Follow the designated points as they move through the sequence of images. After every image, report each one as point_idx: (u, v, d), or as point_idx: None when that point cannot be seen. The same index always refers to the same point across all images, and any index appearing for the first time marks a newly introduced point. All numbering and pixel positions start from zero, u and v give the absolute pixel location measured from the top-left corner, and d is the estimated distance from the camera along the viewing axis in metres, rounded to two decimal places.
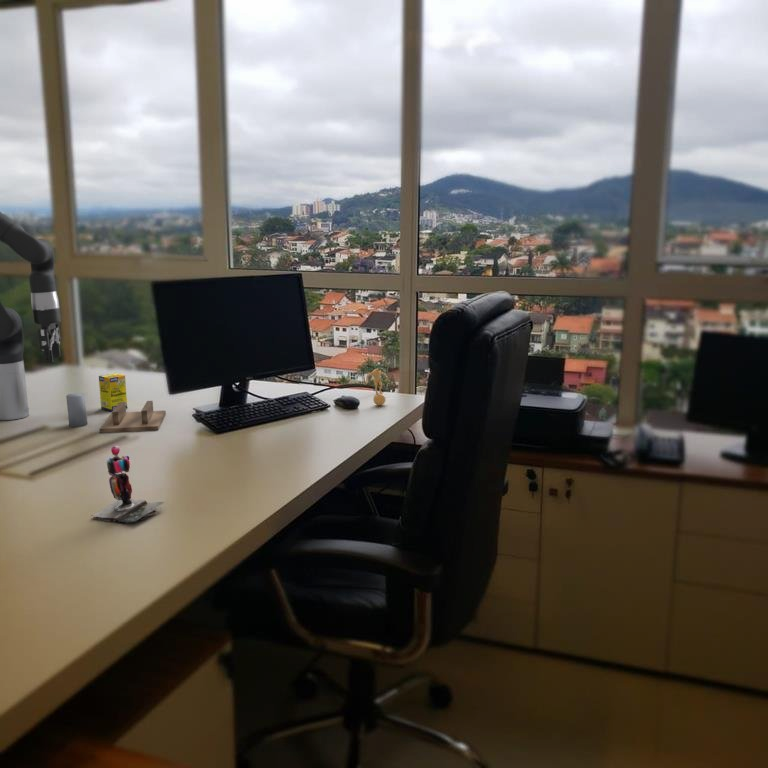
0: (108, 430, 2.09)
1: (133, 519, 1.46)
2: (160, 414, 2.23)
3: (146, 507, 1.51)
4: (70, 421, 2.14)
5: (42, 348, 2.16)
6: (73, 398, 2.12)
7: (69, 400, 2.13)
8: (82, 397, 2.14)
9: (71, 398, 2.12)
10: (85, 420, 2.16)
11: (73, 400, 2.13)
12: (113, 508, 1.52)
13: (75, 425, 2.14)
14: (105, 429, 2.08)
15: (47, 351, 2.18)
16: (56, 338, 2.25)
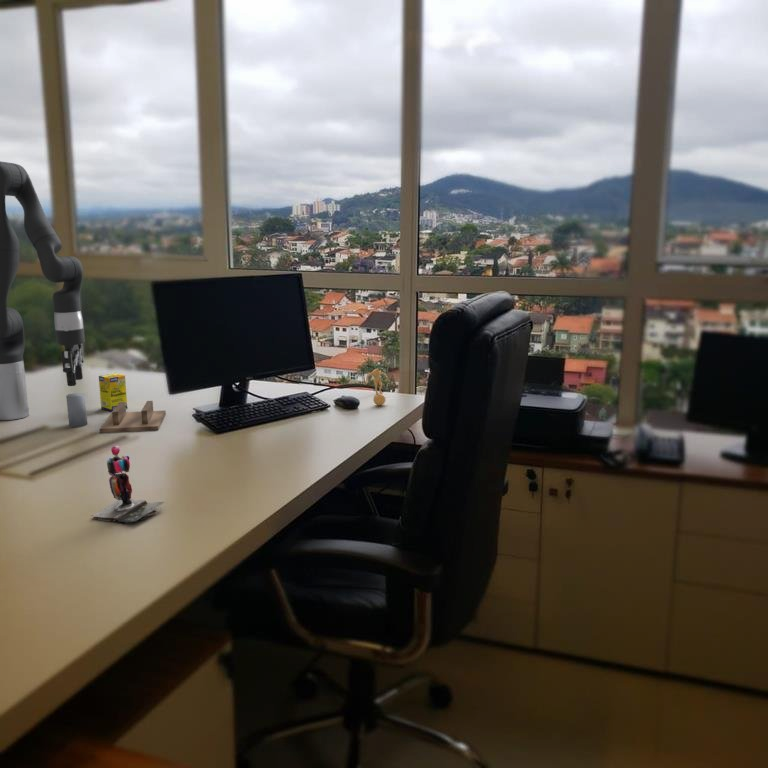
0: (108, 430, 2.09)
1: (133, 519, 1.46)
2: (160, 414, 2.23)
3: (146, 507, 1.51)
4: (70, 421, 2.14)
5: (65, 371, 2.06)
6: (73, 398, 2.12)
7: (69, 400, 2.13)
8: (82, 397, 2.14)
9: (71, 398, 2.12)
10: (85, 420, 2.16)
11: (73, 400, 2.13)
12: (113, 507, 1.52)
13: (75, 425, 2.14)
14: (105, 429, 2.08)
15: (70, 374, 2.08)
16: (79, 359, 2.15)
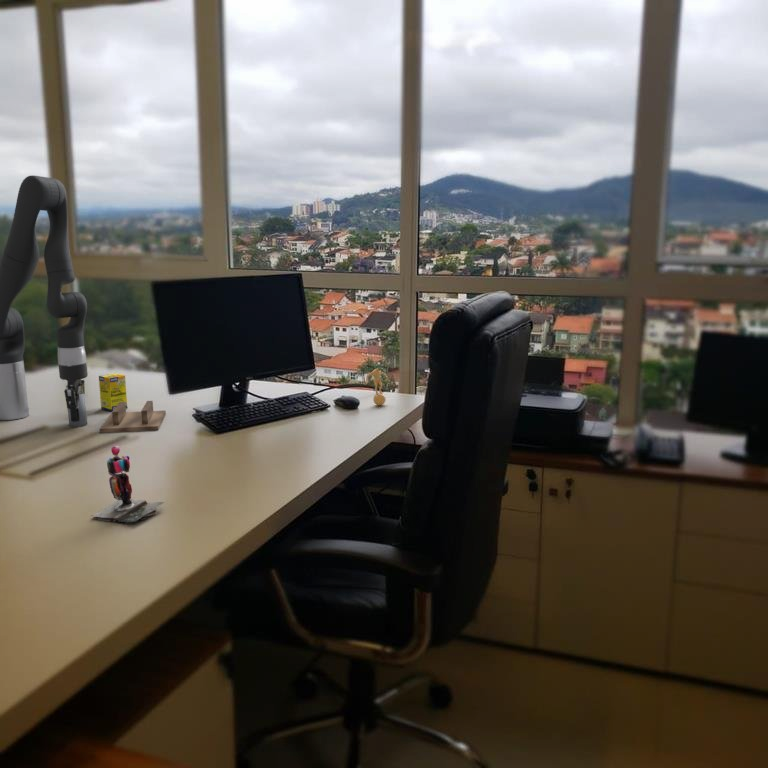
0: (108, 430, 2.09)
1: (133, 519, 1.46)
2: (160, 414, 2.23)
3: (146, 507, 1.51)
4: (70, 421, 2.14)
5: (69, 407, 2.10)
6: None
7: None
8: (82, 397, 2.14)
9: None
10: (85, 420, 2.16)
11: None
12: (113, 508, 1.52)
13: (75, 425, 2.14)
14: (105, 429, 2.08)
15: (74, 410, 2.12)
16: None
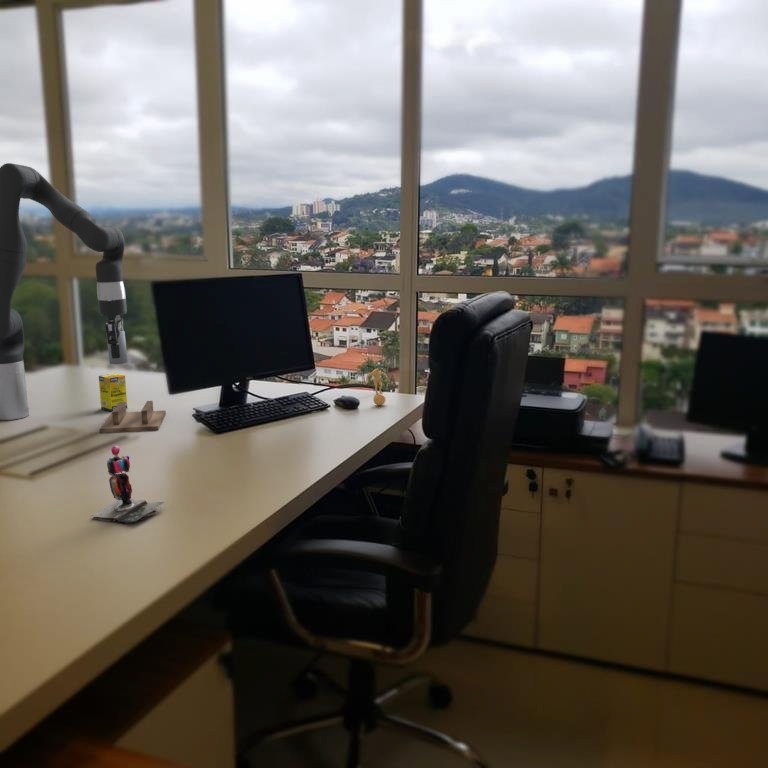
0: (108, 430, 2.09)
1: (133, 519, 1.46)
2: (160, 414, 2.23)
3: (146, 507, 1.51)
4: (111, 358, 2.11)
5: (110, 343, 2.07)
6: None
7: None
8: (122, 333, 2.11)
9: None
10: (125, 357, 2.13)
11: None
12: (113, 508, 1.52)
13: (116, 362, 2.11)
14: (105, 429, 2.08)
15: (115, 346, 2.09)
16: None
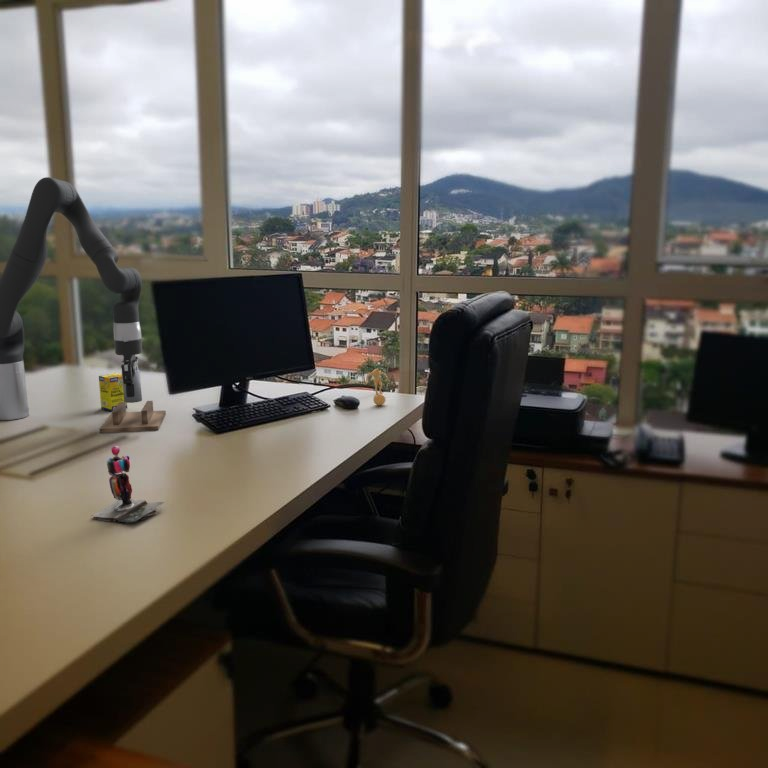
0: (108, 430, 2.09)
1: (133, 519, 1.46)
2: (160, 414, 2.23)
3: (146, 507, 1.51)
4: (125, 397, 2.15)
5: (125, 382, 2.10)
6: None
7: None
8: (137, 373, 2.14)
9: None
10: (140, 396, 2.16)
11: None
12: (113, 507, 1.52)
13: (130, 401, 2.14)
14: (105, 429, 2.08)
15: (130, 385, 2.12)
16: None
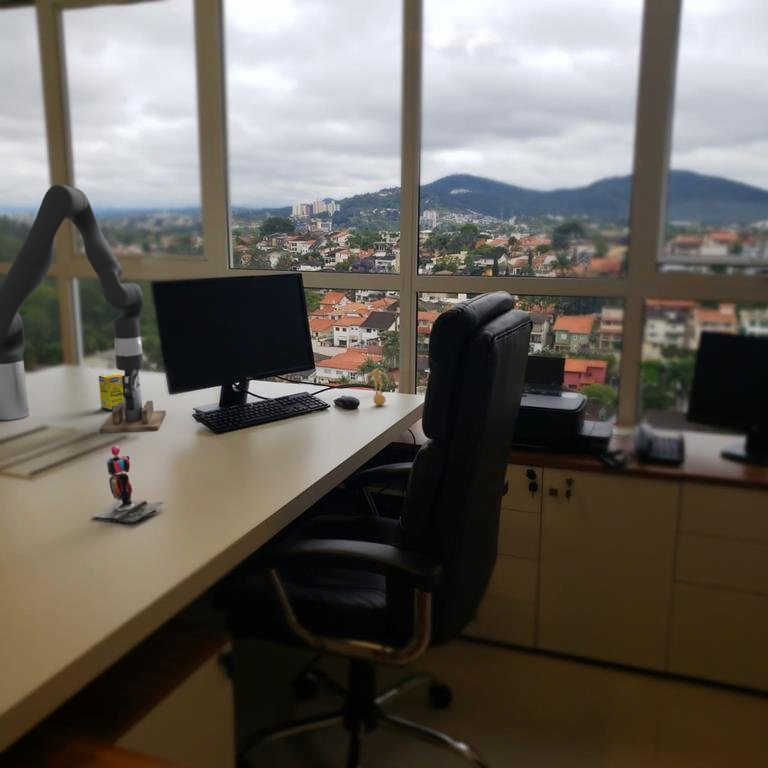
0: (108, 430, 2.09)
1: (133, 519, 1.46)
2: (160, 414, 2.23)
3: (146, 507, 1.51)
4: (126, 415, 2.16)
5: (125, 396, 2.09)
6: None
7: None
8: (139, 391, 2.15)
9: (128, 392, 2.14)
10: (141, 414, 2.17)
11: None
12: (113, 508, 1.52)
13: (131, 419, 2.16)
14: (105, 429, 2.08)
15: (129, 398, 2.11)
16: (136, 383, 2.19)
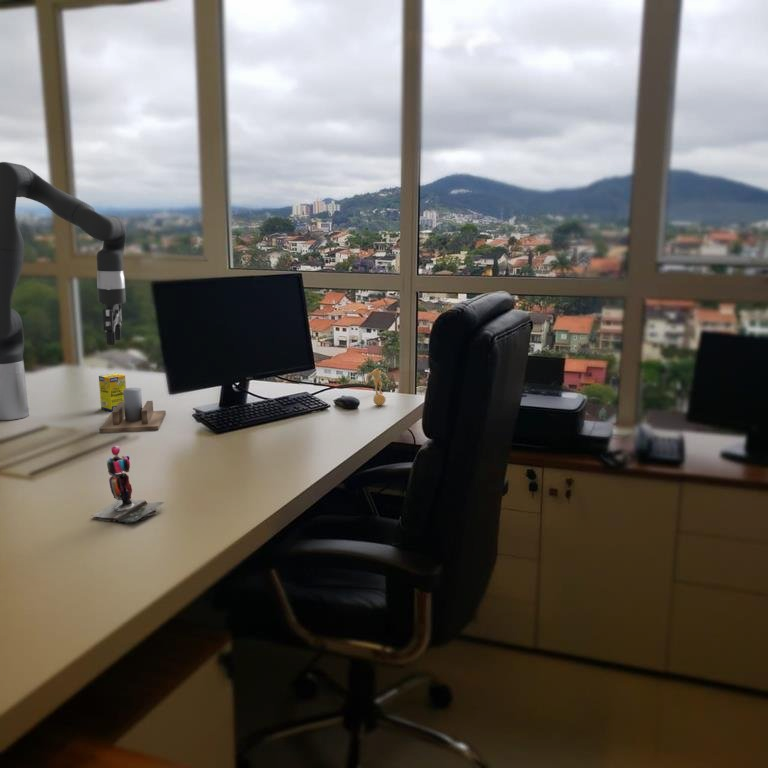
0: (108, 430, 2.09)
1: (133, 519, 1.45)
2: (160, 414, 2.23)
3: (146, 507, 1.51)
4: (127, 415, 2.16)
5: (106, 329, 2.08)
6: (130, 392, 2.14)
7: (126, 394, 2.14)
8: (139, 391, 2.16)
9: (128, 392, 2.14)
10: (141, 414, 2.17)
11: (131, 395, 2.14)
12: (113, 508, 1.52)
13: (132, 419, 2.16)
14: (105, 429, 2.08)
15: (110, 332, 2.10)
16: (118, 320, 2.17)
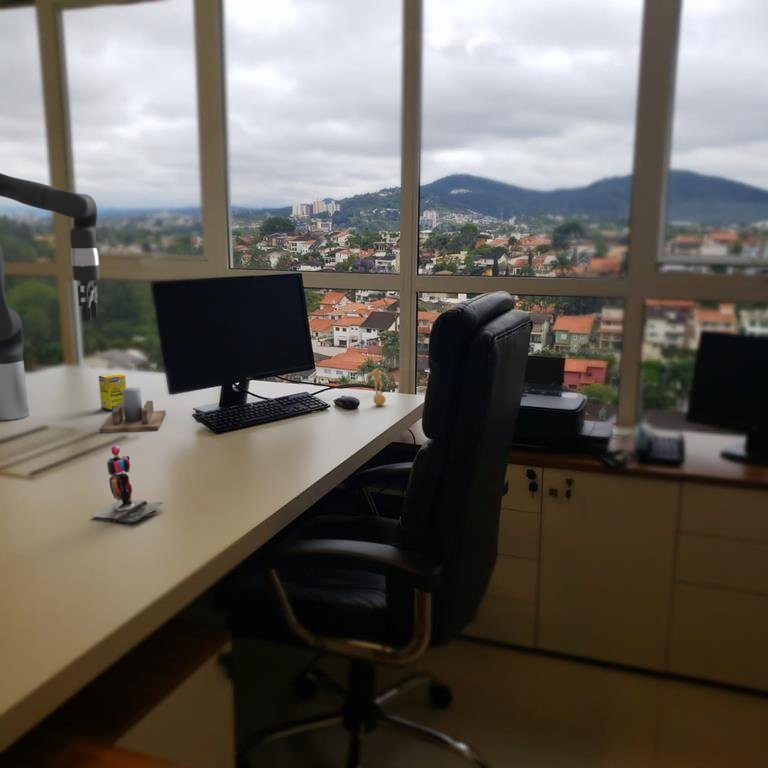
0: (108, 430, 2.09)
1: (133, 519, 1.45)
2: (160, 414, 2.23)
3: (146, 507, 1.51)
4: (127, 415, 2.16)
5: (81, 305, 2.12)
6: (130, 393, 2.14)
7: (125, 395, 2.14)
8: (138, 391, 2.15)
9: (128, 393, 2.14)
10: (141, 414, 2.17)
11: (130, 395, 2.14)
12: (113, 508, 1.52)
13: (132, 419, 2.16)
14: (105, 429, 2.08)
15: (86, 308, 2.14)
16: (94, 297, 2.21)
